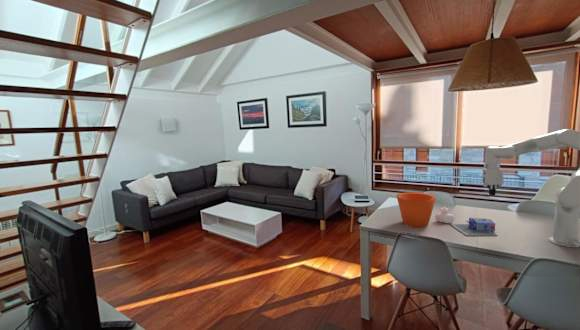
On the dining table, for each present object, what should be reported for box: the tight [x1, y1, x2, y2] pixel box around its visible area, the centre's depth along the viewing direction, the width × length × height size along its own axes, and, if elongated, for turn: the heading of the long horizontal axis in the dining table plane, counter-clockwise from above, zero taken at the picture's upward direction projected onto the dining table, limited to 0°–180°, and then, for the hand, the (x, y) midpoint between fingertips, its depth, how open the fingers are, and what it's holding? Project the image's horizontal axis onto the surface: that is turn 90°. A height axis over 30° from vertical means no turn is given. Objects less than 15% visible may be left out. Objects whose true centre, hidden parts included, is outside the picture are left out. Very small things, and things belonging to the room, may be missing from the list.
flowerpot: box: [396, 191, 437, 228], centre depth 192 cm, size 25×25×20 cm
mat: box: [449, 223, 498, 237], centre depth 177 cm, size 20×18×1 cm
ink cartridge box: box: [466, 217, 496, 232], centre depth 179 cm, size 10×6×14 cm
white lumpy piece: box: [434, 206, 455, 224], centre depth 195 cm, size 12×8×11 cm
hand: (492, 195), depth 173 cm, fingers closed
